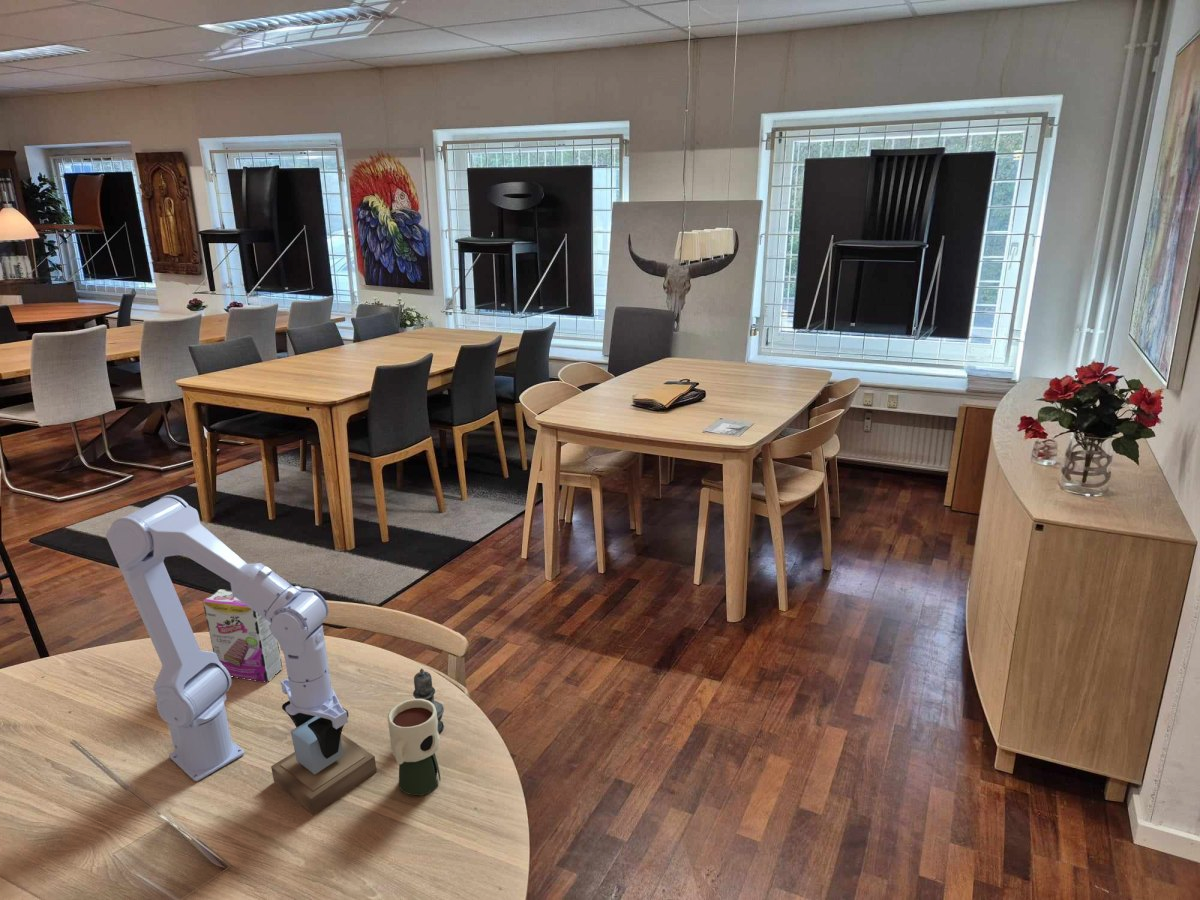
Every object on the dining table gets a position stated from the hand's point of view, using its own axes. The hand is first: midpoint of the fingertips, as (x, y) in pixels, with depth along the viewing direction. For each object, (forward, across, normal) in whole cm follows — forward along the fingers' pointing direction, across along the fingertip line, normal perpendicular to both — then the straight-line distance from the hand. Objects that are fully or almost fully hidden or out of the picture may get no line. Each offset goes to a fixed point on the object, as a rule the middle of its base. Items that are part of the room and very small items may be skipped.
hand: (320, 746), depth 115 cm
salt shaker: (+6, +4, +17) cm, 18 cm away
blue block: (+2, 0, 0) cm, 2 cm away
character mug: (+6, +13, +8) cm, 16 cm away
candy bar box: (+6, -36, +7) cm, 37 cm away
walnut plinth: (+6, 0, 0) cm, 6 cm away
